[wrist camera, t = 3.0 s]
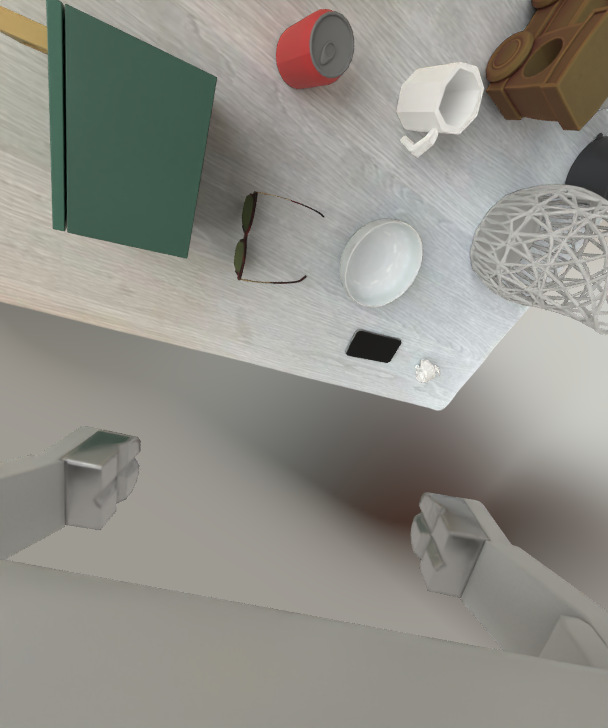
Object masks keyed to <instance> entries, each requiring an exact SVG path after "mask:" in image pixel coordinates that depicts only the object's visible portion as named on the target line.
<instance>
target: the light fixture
mask: <svg viewBox="0 0 608 728" xmlns="http://www.w3.org/2000/svg"><path fill="white" fill-rule="evenodd" d="M602 136H603V134H602V133H600V134H599V135H598V136H597V138H596V140H594V141H593V142H591V143H590V144H589V145H588V146H587V147H586V148H585V149H584V150H583V151H582V152H581V153H580V154H579V156H578V157H577V159H576V160H575V162H574V163H573V165H572V167H571V169H570V171H569V173H568V176H567V179H566V182H565V185H571V186H577V187H581V188H585V189H587V190H589V191H592V192H594V193H596V194H598V195H600V196H601V197H603V198H604V199H606V200H607V201H608V137H607V136H603V137H602ZM568 199H572V198H568ZM577 204H584V205H588V203H577Z"/></svg>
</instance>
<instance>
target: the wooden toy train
mask: <svg viewBox="0 0 608 728" xmlns="http://www.w3.org/2000/svg"><path fill="white" fill-rule="evenodd" d="M532 6H534V7H535V8H536V9H538V10H537V11H536V13H535V15H534V16H533V18H532V19H531V21H530V22H529V24H528V25H527V27H526V29H525V30H524V31H521V32H518V33H516V34H513V35H512V36H510V37H509V38H507V39H506V40H505V41H504V42H503V43H502V44H501V45H500V46H499V47H498V48H497V49H496V50H495V52H494V53H493V55H492V56H491V58H490V60H489V62H488V64H487V68H486V79H487V80H488V81H490V82H491V83H490V85H489V87H488V88H487V90H486V92H487V93H488V95H489V96H490V97H491V99H492V100H493V102H494V103H495V105H496V106H497V108H498V109H499V110H500V112H501V113H502V115H503V116H504V118H505V119H506V120H521V119H522V117H528V118H532V119H537V120H545V121H558V122H559V124H560V125H561V127H562V128H563V130H576V131H580V129H581V128H582V127H583V126H584V125H585V124H586V123H587V122H588V121H589V120H590V119H591V118H592V117H593V115H594V114H595V113H596V112H597V111H598V109H599V108H600V107H601V105H602V104H603V103H604V101H605V100H606V99H607V98H608V0H532Z"/></svg>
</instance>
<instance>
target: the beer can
mask: <svg viewBox="0 0 608 728" xmlns="http://www.w3.org/2000/svg"><path fill="white" fill-rule="evenodd" d="M353 53H354V36H353V31H352V28H351V26H350V24H349V22H348V20H347V19H346V18H345V17H344V16H343V15H342V14H340V13H338V12H336V11H332V10H329V9H320V10H318V11H316V12H314V13H312V14H310V15H309V16H307V17H305V18H304V19H302V20H301V21H299V22H297V23H296V24H294V25H292V26H291V27H289V28H287V29H286V30H285V31H284V33H283V34H282V35H281V37H280V39H279V42H278V44H277V51H276V60H277V67H278V70H279V73H280V75H281V77H282V78H283V80H284V81H285V82H286V83H287V84H288V85H289V86H290V87H293V88H296V89H304V88H310V87H317V86H323V85H329V84H331V83H333V82H335V81H337V80H338V79H339V78H340V76H341V75H342V74H343V73H344V72H345V71H346V70H347V69H348V67H349V65H350V63H351V61H352V57H353Z"/></svg>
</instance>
